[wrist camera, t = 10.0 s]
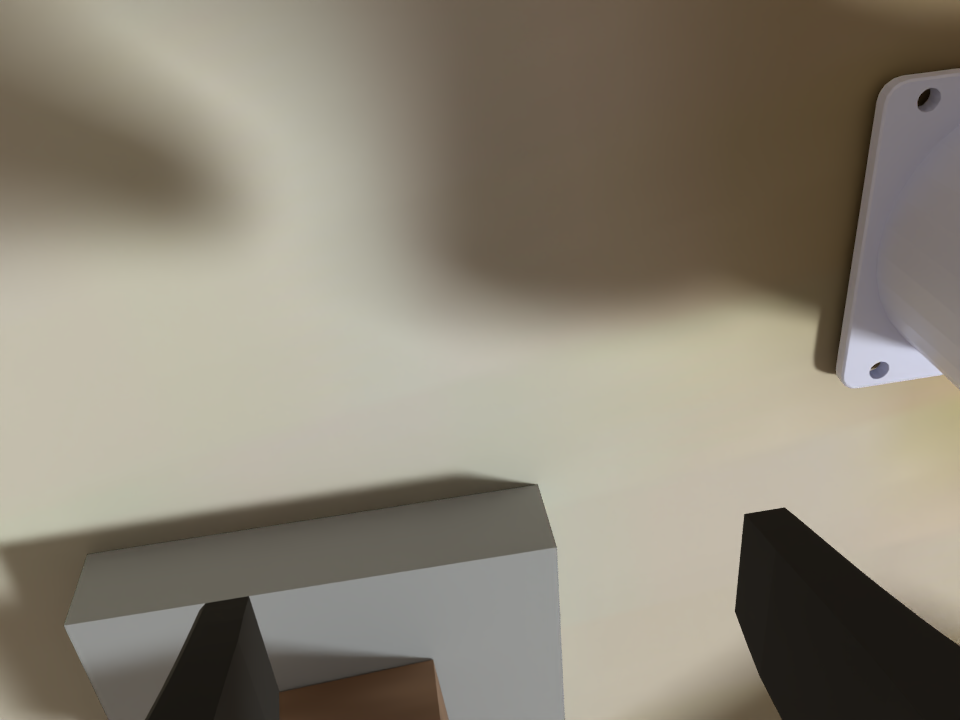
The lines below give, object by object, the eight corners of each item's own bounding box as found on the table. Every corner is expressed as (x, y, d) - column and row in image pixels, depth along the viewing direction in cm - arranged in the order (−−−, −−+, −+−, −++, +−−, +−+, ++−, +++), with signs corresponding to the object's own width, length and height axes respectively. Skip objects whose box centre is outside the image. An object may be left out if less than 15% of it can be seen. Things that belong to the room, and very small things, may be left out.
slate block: (534, 471, 25) (556, 547, 22) (550, 739, 31) (569, 821, 29) (92, 539, 24) (63, 625, 21) (202, 800, 30) (190, 890, 28)
